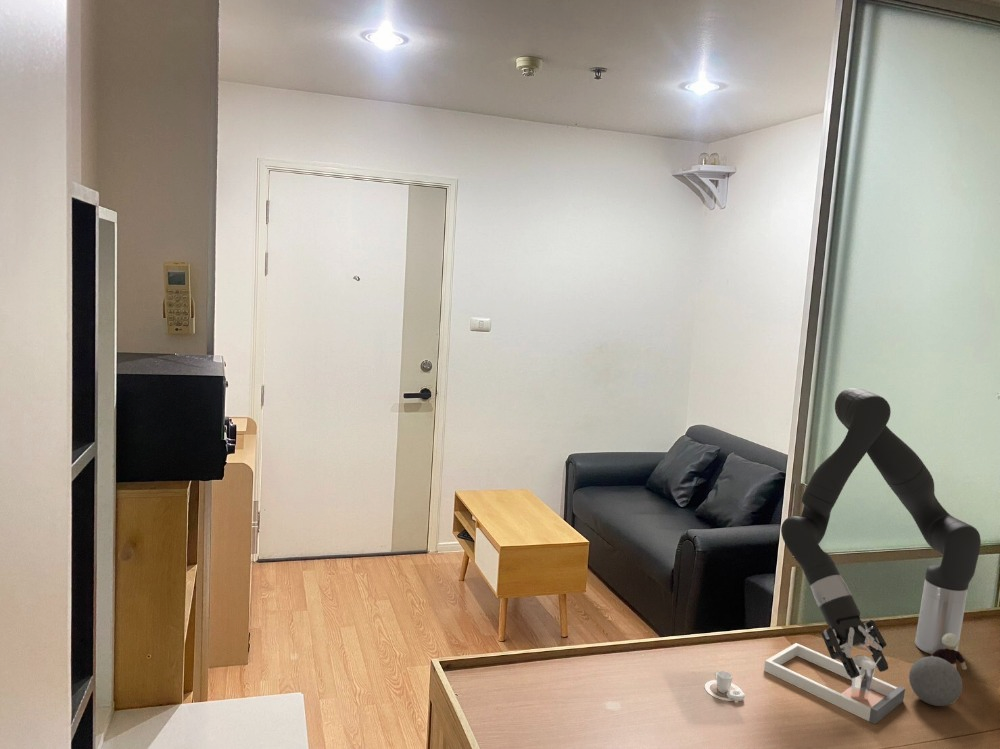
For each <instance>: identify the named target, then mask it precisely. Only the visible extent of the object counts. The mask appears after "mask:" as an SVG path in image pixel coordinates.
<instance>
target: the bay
mask: <svg viewBox="0 0 1000 749" xmlns="http://www.w3.org/2000/svg"><path fill="white" fill-rule="evenodd" d="M795 657H799V658H801V659H804V660H806V661H808V662H810V663H813V664H815V665H817V666H819V667H821V668H824V669H825V670H828V671H829V672H833V673H834V674H836V675H839V676H841V677H842V678H845V679H847V680H850V681H852V678H851V677H850V676H849V675H848V674H847V672H846V670H845V667H844V665H843V663H842V661H840V660H839V661H838V660H837V659H832V658H831V657H829V656H827V655H825V654H823V653H821V652H818V651H816V650H813V649H811V648H809V647H806V646H804V645H802V644H799V643H797V642H795V643H793V644H792V645H789V646H788V647H786V648H784V649H783V650H781V651H779V652H778V653H775V654H774V655H772V656H771V657H769V658H767V659H765V661H764V669H763V671H764V672H766V673H769V674H770V675H772V676H774V677H776V678H778V679H779V680H783V681H785V682H786V683H789V684H791V685H792V686H795V687H797V688H799V689H801V690H804V691H805V692H808V693H810V694H812V695H814V696H815V697H818V698H820V699H822V700H824V701H826V702H828V703H830V704H833V705H834V706H836V707H838V708H840V709H843V710H845V711H846V712H849V713H851V714H853V715H854V716H857V717H859V718H861V719H863V720H865V721H867V722H869V723H871V724H874V725H876V724H877V723H878V722H880V721H881V720H882V719H883V718H884V717H886V716H887V715H888V714H889V713H891V712H892V711H894V710H895V708H896V707H898V706H899V705H900V704H902V703H904V699H905V692H906V688H905V687H903V686H900V685H898V686H895V685H892V684H891V683H889V682H886V681H884V680H882V679H880V678H876V677H874V676H873V678H872V681H871V685H870V689H869V693H868V697H867V700H865V701H860V700H857V699H855V698H853V697H852V696H851V688H852V685H851V686H850V687H848V688H846V689H845V690H843V692H841V693H840V692H839V691H836V690H834V689H832V688H830V687H827V686H825V685H823V684H821V683H820V682H817V681H815V680H813V679H811V678H809V677H806V676H804V675H802V674H800V673H798V672H795V671H793V670H792V669H790V668H787V667H786V666H784V665H783V664H785V663H787V662H788V661H790V660H791V659H794V658H795Z"/></svg>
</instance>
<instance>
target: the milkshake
mask: <svg viewBox="0 0 1000 749" xmlns="http://www.w3.org/2000/svg"><path fill="white" fill-rule="evenodd" d="M880 658H881V656H880ZM880 658H879V659H878V660H877V662H876V663H875V662H874V659H873V658H870V657H869V656H867V655H861V654H859V655H856V656H854V657H852V659H853V661H854V663H855V665H856V667H857V669H858V671H859V674H860V675H859V676H858V677H856V678H852V680H851V686H852V688H851V696H852V697H853V698H855V699H857V700H860V701H865V700H867V697H868V693H869V690H871V689H870V685H871V681H872V678H873V677H874V675H875V671H876V668H877V666H876V664H877V663H878V661H879V660H880Z"/></svg>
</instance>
